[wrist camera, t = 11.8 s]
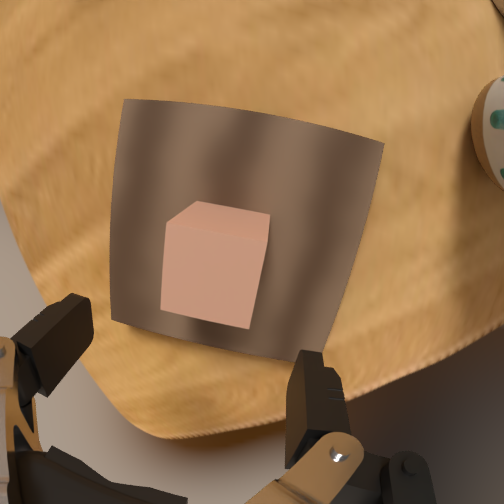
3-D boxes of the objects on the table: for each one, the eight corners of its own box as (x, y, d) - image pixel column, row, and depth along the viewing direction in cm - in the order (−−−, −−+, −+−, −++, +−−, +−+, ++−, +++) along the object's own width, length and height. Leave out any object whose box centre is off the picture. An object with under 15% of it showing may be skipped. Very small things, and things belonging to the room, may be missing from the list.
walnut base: (371, 143, 21) (384, 143, 18) (313, 344, 27) (316, 365, 24) (141, 103, 21) (124, 99, 18) (125, 303, 27) (111, 319, 24)
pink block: (270, 214, 20) (267, 242, 15) (256, 282, 22) (249, 329, 16) (196, 200, 20) (166, 222, 15) (188, 268, 22) (160, 309, 16)
